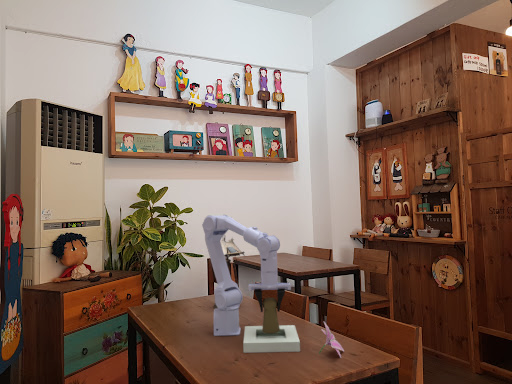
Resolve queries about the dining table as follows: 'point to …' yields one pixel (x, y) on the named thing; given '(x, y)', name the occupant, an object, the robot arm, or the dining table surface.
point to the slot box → (271, 340)
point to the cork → (270, 316)
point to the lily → (331, 340)
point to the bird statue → (229, 252)
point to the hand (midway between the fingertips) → (270, 311)
